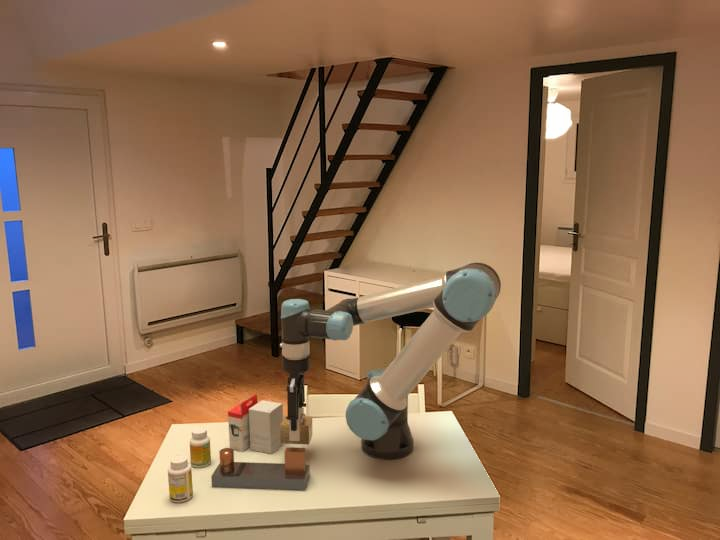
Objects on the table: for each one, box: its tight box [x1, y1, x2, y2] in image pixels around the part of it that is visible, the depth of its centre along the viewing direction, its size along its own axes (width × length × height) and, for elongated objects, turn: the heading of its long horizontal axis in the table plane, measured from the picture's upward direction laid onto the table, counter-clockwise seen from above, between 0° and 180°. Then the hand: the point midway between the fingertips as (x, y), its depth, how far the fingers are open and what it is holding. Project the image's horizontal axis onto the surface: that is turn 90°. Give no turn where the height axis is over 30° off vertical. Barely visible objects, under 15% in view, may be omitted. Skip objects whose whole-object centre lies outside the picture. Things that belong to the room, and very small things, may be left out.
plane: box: [210, 446, 311, 492], centre depth 152 cm, size 24×8×9 cm, turn 86°
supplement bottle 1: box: [167, 454, 194, 503], centre depth 144 cm, size 6×6×10 cm
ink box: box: [227, 393, 259, 452], centre depth 172 cm, size 8×5×15 cm, turn 155°
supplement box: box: [248, 399, 284, 455], centre depth 171 cm, size 7×7×13 cm
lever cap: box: [280, 413, 313, 446], centre depth 165 cm, size 8×6×7 cm
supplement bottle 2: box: [189, 426, 212, 469], centre depth 161 cm, size 5×5×10 cm
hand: (296, 434), depth 165 cm, fingers closed on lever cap, 6 cm apart
